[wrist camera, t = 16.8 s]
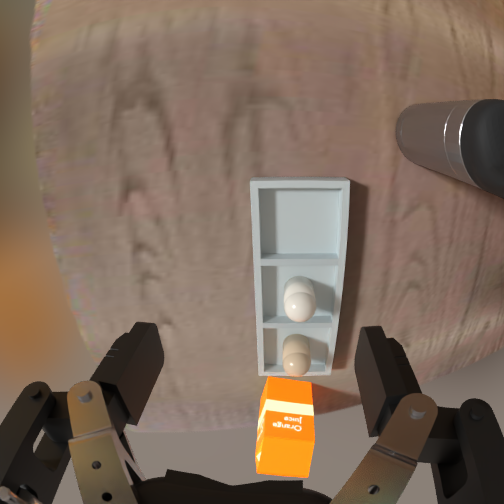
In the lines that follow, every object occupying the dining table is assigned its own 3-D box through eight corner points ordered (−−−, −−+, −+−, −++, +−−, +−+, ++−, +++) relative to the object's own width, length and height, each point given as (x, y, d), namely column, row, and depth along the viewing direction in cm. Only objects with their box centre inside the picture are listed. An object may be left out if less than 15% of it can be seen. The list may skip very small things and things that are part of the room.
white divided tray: (345, 177, 40) (350, 181, 38) (328, 363, 54) (330, 374, 51) (252, 177, 42) (250, 181, 39) (259, 364, 55) (258, 375, 52)
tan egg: (310, 333, 50) (313, 362, 43) (308, 353, 52) (310, 382, 45) (282, 333, 50) (282, 362, 44) (282, 353, 52) (281, 382, 46)
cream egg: (314, 275, 46) (319, 300, 39) (312, 301, 47) (316, 328, 41) (283, 275, 46) (283, 300, 39) (283, 301, 48) (283, 329, 41)
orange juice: (268, 375, 56) (261, 463, 38) (311, 382, 56) (316, 468, 38) (260, 399, 59) (252, 481, 41) (300, 405, 59) (301, 485, 41)
